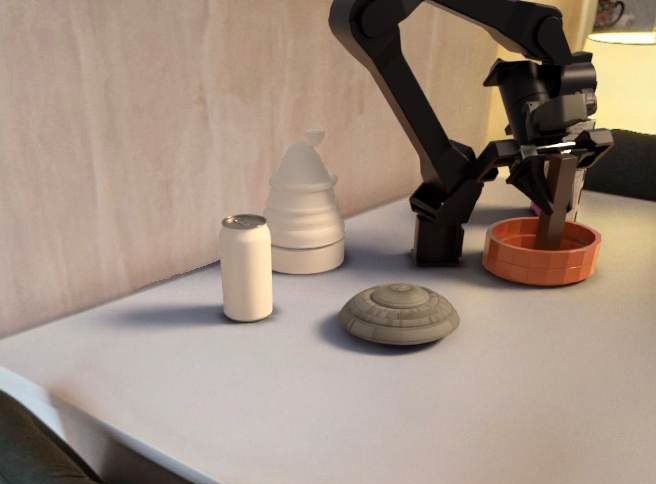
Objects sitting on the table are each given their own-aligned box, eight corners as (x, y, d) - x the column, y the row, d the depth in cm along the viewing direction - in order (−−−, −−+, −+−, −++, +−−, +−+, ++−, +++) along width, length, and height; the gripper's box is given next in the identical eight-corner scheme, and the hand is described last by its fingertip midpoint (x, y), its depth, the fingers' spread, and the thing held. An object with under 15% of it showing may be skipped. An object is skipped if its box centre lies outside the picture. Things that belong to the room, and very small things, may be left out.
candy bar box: (527, 208, 134) (545, 104, 124) (556, 207, 134) (576, 103, 124) (544, 228, 125) (565, 118, 115) (575, 228, 125) (599, 117, 115)
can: (236, 327, 98) (231, 232, 90) (216, 309, 102) (209, 218, 95) (281, 316, 100) (279, 223, 93) (259, 300, 105) (255, 209, 97)
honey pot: (351, 247, 120) (356, 122, 109) (334, 277, 111) (337, 142, 100) (273, 242, 123) (270, 119, 112) (249, 270, 114) (243, 139, 103)
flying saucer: (317, 317, 99) (318, 276, 96) (415, 296, 104) (419, 256, 101) (376, 364, 89) (379, 320, 85) (482, 338, 93) (489, 295, 90)
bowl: (496, 290, 105) (501, 254, 102) (471, 251, 117) (475, 218, 114) (609, 287, 105) (618, 250, 102) (572, 248, 117) (579, 215, 114)
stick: (521, 258, 109) (540, 153, 101) (548, 254, 110) (568, 150, 102) (539, 269, 106) (560, 161, 97) (566, 264, 107) (589, 157, 98)
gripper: (496, 71, 94) (531, 187, 93) (623, 59, 99) (658, 170, 97) (457, 128, 105) (488, 233, 104) (573, 115, 109) (604, 216, 108)
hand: (560, 212), depth 103 cm, fingers closed on stick, 2 cm apart
